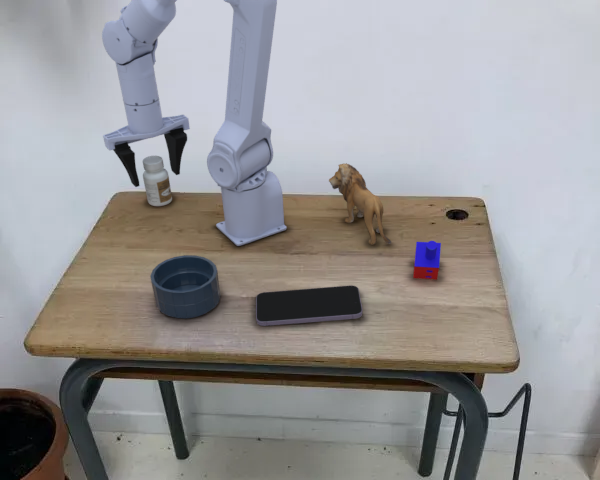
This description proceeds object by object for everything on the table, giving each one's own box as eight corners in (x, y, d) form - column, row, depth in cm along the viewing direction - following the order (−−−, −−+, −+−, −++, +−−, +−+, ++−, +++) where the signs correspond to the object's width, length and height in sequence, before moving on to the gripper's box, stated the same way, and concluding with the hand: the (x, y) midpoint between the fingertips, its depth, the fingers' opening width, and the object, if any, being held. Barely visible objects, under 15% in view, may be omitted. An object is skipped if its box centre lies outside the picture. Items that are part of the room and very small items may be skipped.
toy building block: (412, 283, 106) (415, 256, 98) (414, 259, 107) (417, 230, 100) (436, 285, 105) (440, 258, 98) (438, 260, 107) (442, 232, 99)
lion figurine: (325, 214, 119) (324, 164, 113) (350, 205, 121) (351, 155, 115) (378, 251, 110) (380, 199, 103) (404, 241, 112) (408, 189, 105)
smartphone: (256, 292, 101) (357, 284, 101) (256, 298, 102) (357, 290, 102) (256, 322, 96) (363, 314, 96) (256, 329, 97) (363, 320, 97)
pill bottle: (167, 207, 122) (160, 166, 117) (144, 206, 123) (135, 164, 118) (175, 196, 125) (168, 154, 120) (153, 194, 126) (145, 153, 121)
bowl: (203, 276, 106) (199, 248, 103) (232, 306, 100) (228, 277, 97) (146, 297, 103) (140, 268, 99) (172, 329, 97) (167, 300, 94)
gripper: (172, 82, 117) (183, 159, 126) (89, 102, 112) (108, 180, 121) (189, 95, 113) (200, 173, 122) (105, 116, 107) (123, 196, 117)
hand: (155, 178), depth 121 cm, fingers open, 7 cm apart
